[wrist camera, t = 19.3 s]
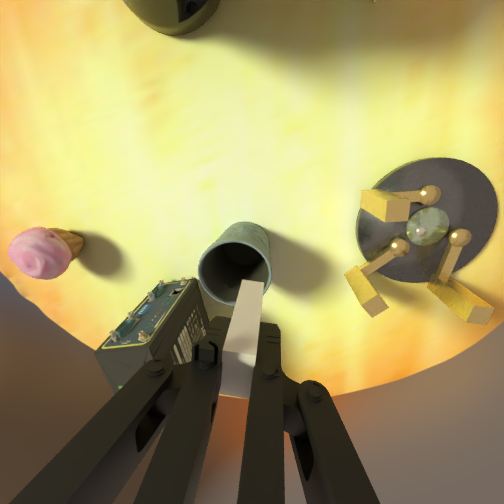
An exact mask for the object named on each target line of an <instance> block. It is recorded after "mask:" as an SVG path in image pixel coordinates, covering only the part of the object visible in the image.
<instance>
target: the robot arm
mask: <svg viewBox="0 0 504 504" xmlns="http://www.w3.org/2000/svg"><path fill="white" fill-rule="evenodd" d="M123 1H124V3H125V4H126V5H127V6H128V8H129V9H130V10H131V11H132V12H133V13H134V14H135V15H136V16H137V17H138V18H139V19H140V20H141V21H142V22H143V23H145V24H146V25H147V26H149V27H150V28H152V29H154V30H156V31H158V32H161V33H164V34H169V35H181V34H185V33H189V32H191V31H193V30H195V29H197V28H199V27H200V26H201V25H203V24H204V23H205V22H206V21H207V20H208V19H209V18H210V17H211V15H212V14H213V13H214V11H215V10H216V8H217V6H218V4H219V2H220V0H123ZM263 289H264V282H256V281H249V280H242V283H241V286H240V290H239V293H238V297H237V300H236V304H235V308H234V311H233V315H232V318H226V317H219V316H216V317H215V318H214V319H213V320H212V321H211V322H210V325H209V327H208V330H207V332H206V335H205V337H204V339H202V340H199V341H197V342H196V343H194V345H193V346H192V360H191V361H190V362H187V363H184V364H177V365H172V363H171V361H169V360H168V359H166V358H154V359H152V360H149V361H148V362H147V363H145V364H144V365H143V366H142V367H141V368H140V369H139V370H138V371H137V372H136V373H135V374H134V375H133V376H132V377H131V378H130V380H129V381H128V382H127V383H126V384H125V385H124V386H123V387H122V388H121V389H120V390H119V391H118V392H117V393H116V394H115V395H114V396H113V397H112V398H111V399H110V400H109V401H108V402H107V403H106V404H105V405H104V406H103V407H102V409H100V410H99V411H98V412H97V414H96V415H95V416H94V417H93V418H92V419H91V420H90V421H89V422H88V423H87V424H86V425H85V426H84V427H83V428H82V429H81V430H80V431H79V432H78V433H77V434H76V435H75V436H74V437H73V438H72V439H71V440H70V441H69V442H68V443H67V444H66V446H64V447H63V449H62V450H61V451H60V452H59V453H58V454H57V455H56V456H55V457H54V458H53V459H52V460H51V461H50V462H49V463H48V464H47V465H46V466H45V467H44V468H43V469H42V470H41V471H40V472H39V473H38V474H37V475H36V476H35V477H34V478H33V479H32V480H31V482H30V483H29V484H28V485H27V486H26V487H25V488H24V489H23V490H22V491H21V492H20V493H19V494H18V495H17V496H16V497H15V498H14V499H13V500H12V501H11V502H10V503H9V504H112V503H113V502H114V500H115V499H116V497H117V496H118V494H119V493H120V491H121V490H122V488H123V487H124V485H125V484H126V482H127V481H128V480H129V478H130V476H131V475H132V473H133V472H134V471H135V469H136V468H137V466H138V464H139V463H140V462H141V460H142V458H143V457H144V456H145V454H146V453H147V451H148V450H149V448H150V447H151V445H152V444H153V442H154V441H155V439H156V438H157V436H158V435H159V433H160V432H161V430H162V429H163V428H164V430H163V432H162V435H161V437H160V440H159V442H158V444H157V447H156V449H155V452H154V454H153V457H152V459H151V462H150V464H149V467H148V469H147V472H146V474H145V476H144V479H143V481H142V484H141V486H140V489H139V491H138V493H137V496H136V499H135V501H134V503H133V504H194V501H195V497H196V492H197V489H198V484H199V480H200V476H201V472H202V468H203V463H204V459H205V455H206V451H207V446H208V442H209V438H210V434H211V430H212V425H213V421H214V417H215V412H216V408H217V402H218V395H219V394H222V395H229V396H235V397H241V398H247V399H249V407H248V415H247V424H246V431H245V440H244V448H243V456H242V465H241V474H240V481H239V490H238V498H237V504H285V493H284V491H285V487H284V431H286V432H288V433H289V436H290V440H291V444H292V448H293V452H294V456H295V460H296V463H297V467H298V471H299V475H300V479H301V483H302V486H303V490H304V494H305V498H306V502H307V504H380V502H379V500H378V498H377V496H376V494H375V491H374V489H373V487H372V485H371V483H370V480H369V478H368V476H367V474H366V472H365V470H364V467H363V465H362V463H361V461H360V459H359V457H358V454H357V452H356V450H355V448H354V446H353V444H352V441H351V439H350V437H349V435H348V433H347V431H346V429H345V426H344V424H343V422H342V420H341V418H340V416H339V413H338V411H337V409H336V407H335V405H334V403H333V400H332V398H331V396H330V394H329V392H328V391H327V389H326V388H325V387H324V386H323V385H322V384H321V383H319V382H316V381H312V380H307V381H304V382H302V383H301V384H299V383H297V382H295V381H293V380H291V379H289V378H288V377H287V376H286V375H285V374H284V373H283V371H282V369H281V345H280V344H281V339H280V338H281V334H280V329H279V327H278V326H277V324H271V323H264V322H260V317H261V308H262V298H263ZM219 391H220V393H219ZM164 426H165V427H164Z"/></svg>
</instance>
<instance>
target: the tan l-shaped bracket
mask: <svg viewBox="0 0 504 504" xmlns="http://www.w3.org/2000/svg"><path fill="white" fill-rule="evenodd" d="M440 196H441V190H440V189H439V188H438V187H437V186H433V185H424V186H422V187H420V188H419V189H418V190H405V191H391V192H388V191H384V190H381V189H372V190H362V193H361V208H362V209H364V210H366V211H367V212H369V213H371V214H372V215H374V216H375V217H377V218H379V219H380V220H382V221H383V222H401V221H408V218H409V210H410V203H411V202H419V203H421V204H425V205H432V204H434V203H436V202H437V201H438V200H439V199H440Z"/></svg>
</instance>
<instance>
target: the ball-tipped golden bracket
mask: <svg viewBox="0 0 504 504" xmlns="http://www.w3.org/2000/svg"><path fill="white" fill-rule="evenodd" d="M471 237H472V235H471V233H470V231H468V230H466V229H463V228H460V227H457V228H453V229H452V230H450V231H449V232H448V234H447V236H446V240H447V242H448V245H447V247H446V249H445V252H444V254H443V257H442V259H441V262H440V264H439V267H438V269H437V271H436V274H432V276H431V278H430V280H429V283H428V285H427V288H428V289H429V290H430V291H431V292H432V293H434V294H435V295H436V296H437V297H438V298H439V299H440V300H442V301H443V302H444V303H445V304H446V305H447V306H448V307H450V308H451V309H452V310H453V311H454V312H455V313H456V314H457V315H459V316H460V317H461V318H462V319H463V320H464V321H465V322H469V323H476V324H483V325H486V324H487V322H488V321H489V319H490V317H491V315H492V313H493V311H494V309H495V308H494V307H492V306H491V305H489V304H488V303H487V302H485V301H484V300H482V299H481V298H479V297H478V296H477V295H475V294H474V293H472V292H471V291H469V290H468V289H467V288H465V287H464V286H462V285H461V284H459V283H458V282H457V281H455V280H454V279H452V278H451V277H450V275H451V273H452V270H453V268H454V266H455V264H456V261H457V259H458V257H459V254H460V252H461V250H462V248H463V246H465V245H467V244H468V243H469V242H470V240H471Z"/></svg>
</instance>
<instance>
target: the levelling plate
mask: <svg viewBox="0 0 504 504" xmlns="http://www.w3.org/2000/svg"><path fill="white" fill-rule="evenodd" d="M424 185H433V186H437V187H438V188H439V189H440V190H441V196H440V199H439V200H438V201H437V202H436V203H434V204H432V205H425V204H421V203H419V202H411V203H410V210H409V218H408V221H401V222H383V221H382V220H380V219H379V218H377V217H375V216H374V215H372V214H371V213H369V212H367V211H366V210H364V209H362V208H361V207H360V210H359V213H358V217H357V221H356V238H357V243H358V246H359V249H360V251H361V253H362V255H363V256H364V258H365V259H366V261H369V260H370V259H372V258H373V257H375V256H376V255H378V254H379V253H380V252H382V251H383V250H385V249H386V248H388V244H389V242H390V241H391V240H393V239H395V238H402V239H404V240H405V241H407V242H408V243H409V245H410V249H409V252H408V253H407V254H406V255H404V256H402V257H395V258H393V259H392V260H390V261H389V262H387V263H386V264H384V265H383V266H381V267H380V268H378V269H377V270H376V271H378V272H379V273H380V274H382V275H384V276H386V277H388V278H391V279H393V280H397V281H401V282H409V283H418V282H427V281H429V280H430V278H431V276H432V274H436V271H437V269H438V267H439V264H440V262H441V259H442V257H443V254H444V252H445V249H446V247H447V245H448V242H447V240H446V236H447V234H448V232H449V231H450V230H452V229H453V228H457V227H460V228H463V229H466V230H468V231H470V233H471V235H472V237H471V240H470V242H469V243H468V244H467V245H465V246H463V248H462V250H461V252H460V254H459V257H458V259H457V261H456V264H455V266H454V268H453V270H452V273H453V272H455V271H457V270H459V269H460V268H462V267H463V266H465V265H466V264H467V263H468V262H470V261H471V260H472V259H473V258H474V257H475V256H476V255H477V254H478V253H479V252H480V251H481V249H482V248H483V247H484V245H485V244H486V242H487V241H488V239H489V237H490V235H491V233H492V231H493V228H494V225H495V222H496V217H497V199H496V194H495V191H494V188H493V186H492V184H491V182H490V181H489V179H488V178H487V177H486V176H485V174H483V173H482V172H481V171H480V170H479V169H478V168H476V167H475V166H473V165H471V164H469V163H467V162H464V161H461V160H457V159H452V158H425V159H419V160H416V161H412V162H409V163H407V164H404V165H402V166H400V167H398V168H396V169H394V170H393V171H391V172H390V173H388V174H387V175H385V176H384V177H383V178H382V179H381V180H380V181H378V182H377V183H376V185H375V186H374V187H373V188H372V189H381V190H384V191H388V192H391V191H405V190H418V189H419V188H420V187H422V186H424ZM372 189H371V190H372Z"/></svg>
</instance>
